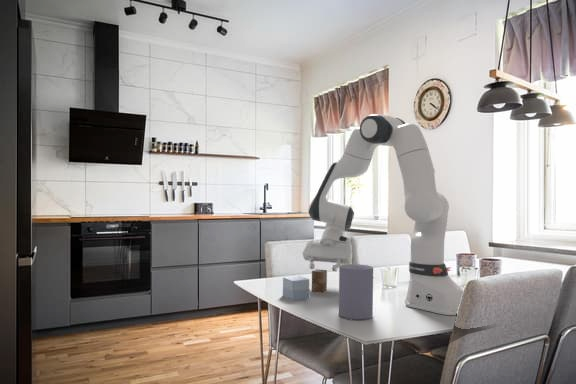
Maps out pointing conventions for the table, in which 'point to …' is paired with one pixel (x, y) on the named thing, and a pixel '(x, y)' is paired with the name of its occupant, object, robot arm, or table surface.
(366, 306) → the container
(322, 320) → the table surface
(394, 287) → the table surface
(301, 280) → the tower top
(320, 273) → the walnut block
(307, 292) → the tower base
